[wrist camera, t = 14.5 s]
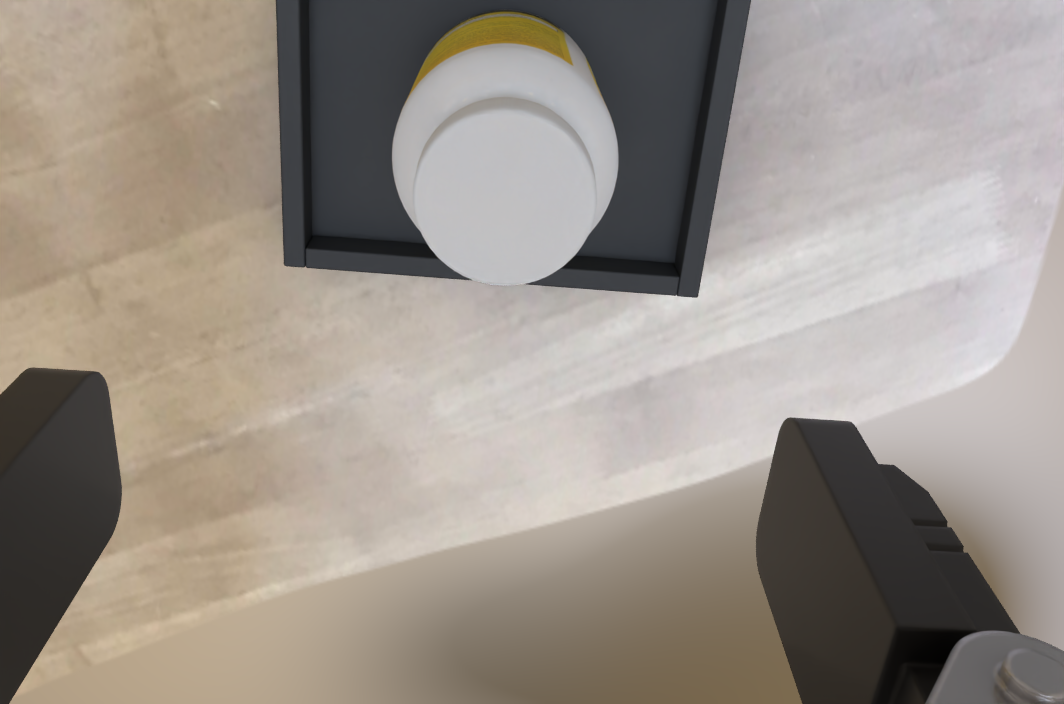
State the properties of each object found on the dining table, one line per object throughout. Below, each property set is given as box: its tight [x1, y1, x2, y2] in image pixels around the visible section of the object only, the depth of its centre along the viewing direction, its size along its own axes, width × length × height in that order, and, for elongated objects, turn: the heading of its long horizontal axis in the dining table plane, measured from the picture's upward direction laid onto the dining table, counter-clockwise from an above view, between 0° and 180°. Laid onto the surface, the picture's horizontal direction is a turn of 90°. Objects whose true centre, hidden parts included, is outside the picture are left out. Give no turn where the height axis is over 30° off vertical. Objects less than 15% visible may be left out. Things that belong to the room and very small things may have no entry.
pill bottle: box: [392, 10, 618, 286], centre depth 29 cm, size 6×6×12 cm
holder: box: [276, 0, 751, 298], centre depth 34 cm, size 16×13×2 cm
